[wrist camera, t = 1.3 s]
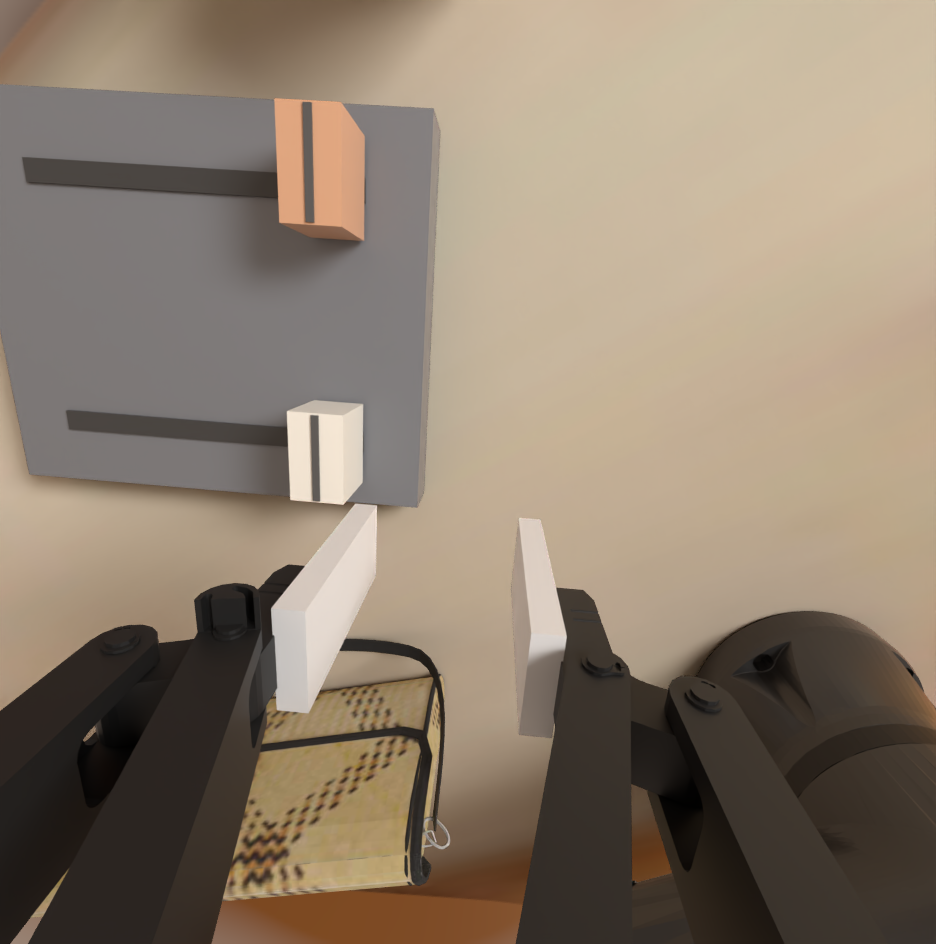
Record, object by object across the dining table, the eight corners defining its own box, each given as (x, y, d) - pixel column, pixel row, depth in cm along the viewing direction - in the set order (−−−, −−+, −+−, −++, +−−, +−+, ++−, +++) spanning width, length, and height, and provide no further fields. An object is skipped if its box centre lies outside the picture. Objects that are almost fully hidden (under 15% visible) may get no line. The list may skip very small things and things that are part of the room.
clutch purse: (449, 614, 37) (420, 795, 23) (468, 689, 39) (452, 900, 25) (102, 666, 40) (-114, 853, 26) (135, 733, 42) (-50, 941, 28)
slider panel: (424, 492, 34) (416, 508, 31) (67, 462, 35) (26, 475, 32) (440, 131, 28) (433, 106, 25) (4, 106, 29) (-55, 79, 26)
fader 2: (362, 482, 31) (343, 505, 27) (316, 478, 31) (289, 500, 27) (363, 403, 29) (342, 415, 25) (314, 400, 29) (286, 411, 25)
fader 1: (364, 241, 27) (341, 226, 23) (310, 237, 27) (278, 222, 23) (364, 135, 25) (340, 101, 21) (307, 132, 25) (273, 97, 21)
